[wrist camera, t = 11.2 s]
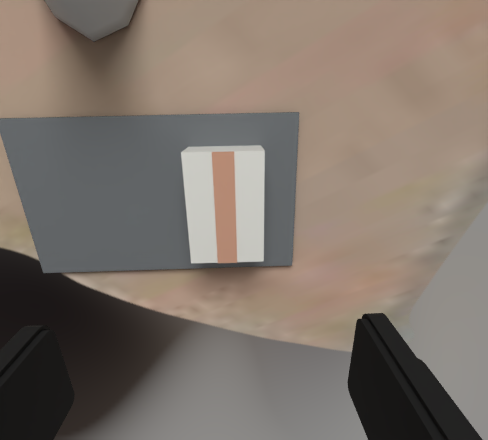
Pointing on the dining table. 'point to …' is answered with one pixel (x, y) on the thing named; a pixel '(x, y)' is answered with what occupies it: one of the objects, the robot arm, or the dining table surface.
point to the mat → (138, 186)
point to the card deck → (225, 203)
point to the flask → (93, 15)
